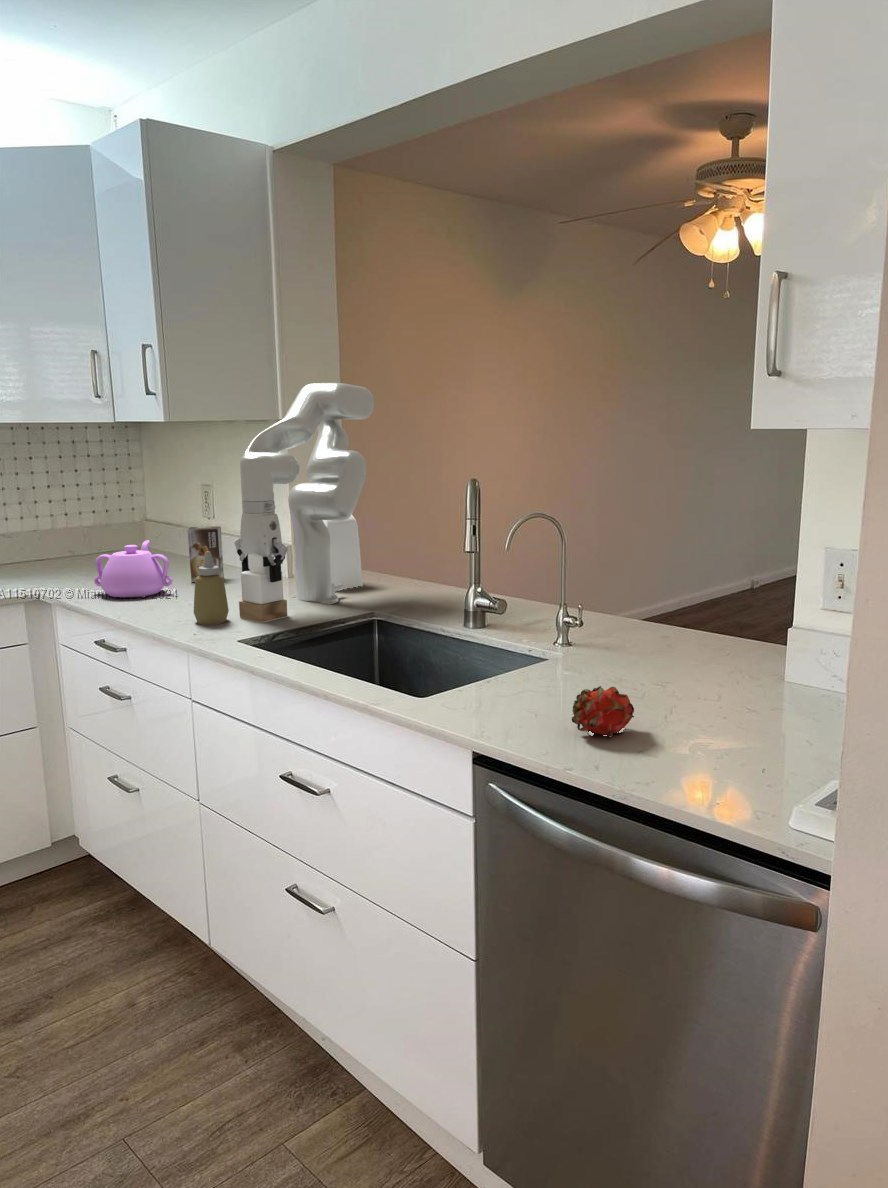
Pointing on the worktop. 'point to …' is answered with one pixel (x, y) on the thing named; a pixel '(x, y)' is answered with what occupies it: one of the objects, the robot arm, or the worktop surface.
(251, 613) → the base block
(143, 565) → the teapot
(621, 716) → the dragon fruit
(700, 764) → the worktop surface
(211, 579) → the squeeze bottle
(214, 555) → the coffee box
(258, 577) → the medicine bottle
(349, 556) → the milk
